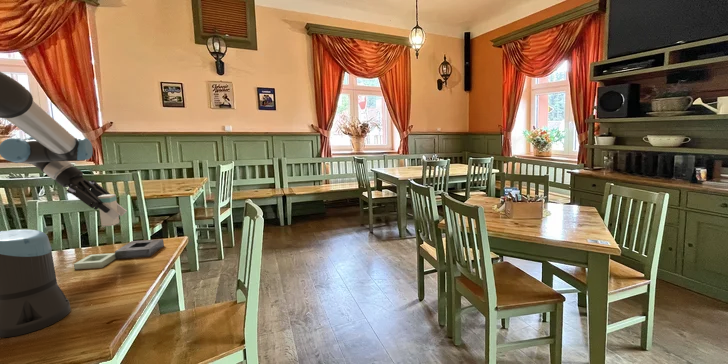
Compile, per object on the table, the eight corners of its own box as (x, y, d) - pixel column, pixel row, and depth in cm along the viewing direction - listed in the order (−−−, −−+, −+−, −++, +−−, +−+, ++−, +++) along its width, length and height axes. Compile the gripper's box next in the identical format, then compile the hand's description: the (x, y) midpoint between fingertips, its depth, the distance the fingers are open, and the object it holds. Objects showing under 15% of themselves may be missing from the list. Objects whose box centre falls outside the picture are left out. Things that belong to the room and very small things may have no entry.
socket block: (150, 256, 130) (149, 249, 130) (116, 259, 129) (114, 251, 128) (163, 245, 142) (163, 239, 142) (132, 248, 141) (131, 241, 140)
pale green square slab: (102, 267, 121) (101, 261, 121) (74, 269, 120) (73, 263, 120) (117, 257, 130) (116, 252, 130) (91, 259, 129) (90, 254, 129)
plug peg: (113, 225, 127) (109, 196, 125) (101, 226, 126) (97, 196, 124) (119, 222, 131) (115, 194, 129) (107, 223, 130) (103, 194, 128)
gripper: (73, 177, 132) (125, 216, 137) (39, 184, 115) (100, 229, 120) (86, 163, 132) (138, 202, 137) (54, 168, 115) (115, 213, 120)
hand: (120, 215), depth 129 cm, fingers closed on plug peg, 4 cm apart
